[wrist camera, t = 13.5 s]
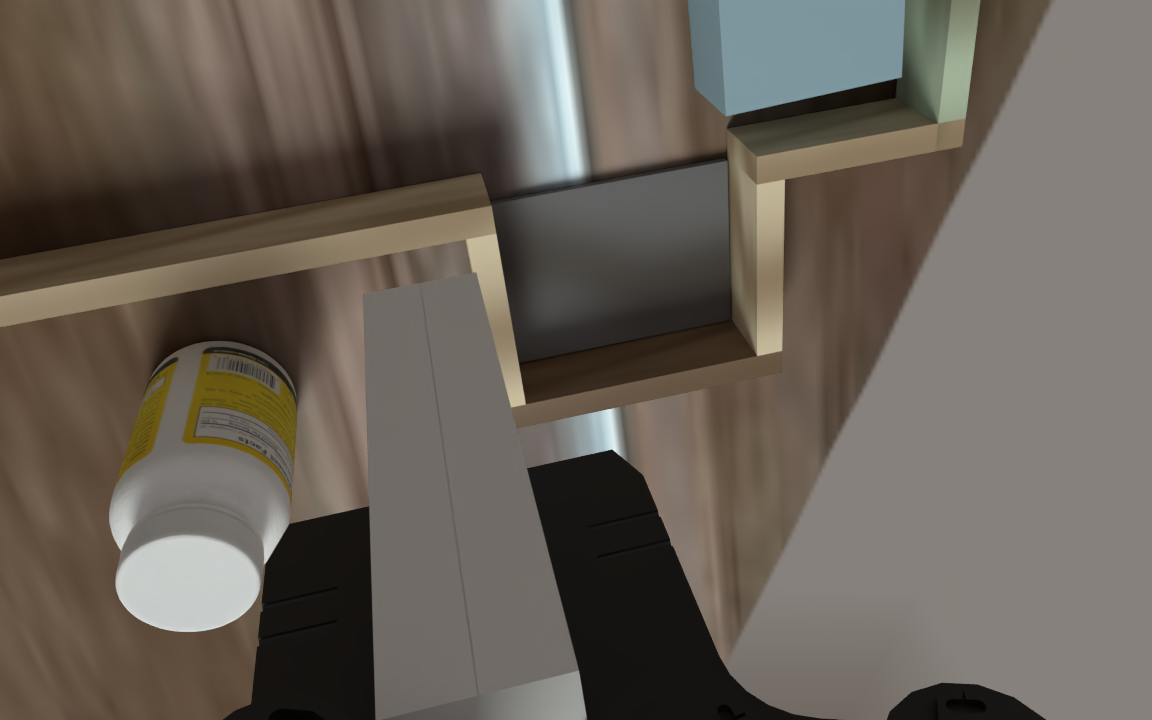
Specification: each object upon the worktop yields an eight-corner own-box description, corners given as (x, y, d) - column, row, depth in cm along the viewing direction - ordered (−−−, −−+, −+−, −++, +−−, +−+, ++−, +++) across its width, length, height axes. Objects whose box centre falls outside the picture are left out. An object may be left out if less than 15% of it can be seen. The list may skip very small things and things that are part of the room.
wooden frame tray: (-746, -482, 19) (-908, -521, 17) (992, -638, 24) (1066, -687, 21) (-82, 506, 35) (-115, 561, 32) (900, 303, 39) (937, 339, 37)
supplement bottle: (181, 469, 36) (131, 668, 28) (123, 355, 33) (49, 542, 25) (318, 435, 37) (308, 622, 29) (272, 321, 34) (247, 493, 26)
